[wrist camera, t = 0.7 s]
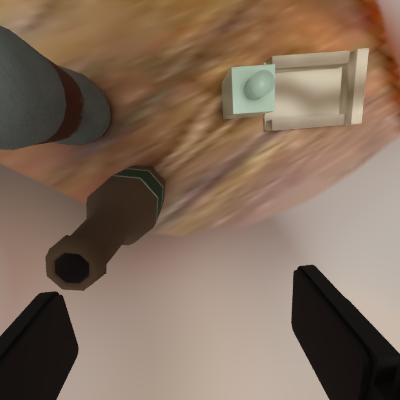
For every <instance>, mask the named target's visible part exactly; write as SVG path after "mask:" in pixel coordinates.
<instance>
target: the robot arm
mask: <svg viewBox="0 0 400 400" xmlns="http://www.w3.org/2000/svg"><path fill="white" fill-rule="evenodd" d="M291 322H292V329H293V331H294V333H295V335H296V337H297V339H298V341H299V343H300V345H301V347H302V349H303V350H304V352H305V354H306V356H307V358H308V360H309V362H310V364H311V365H312V368H313V369H314V371H315V373H316V375H317V377H318V379H319V381H320V382H321V385H322V386H323V388H324V390H325V392H326V394H327V396H328V398H329V399H330V400H400V354H399V353H398V352H397V350H395V348H394V347H393V346H392V345H391V344H390V343H389V342H388V341H387V340H386V339H385V338H384V337H383V336H382V335H381V334H380V333H379V332H378V331H377V329H376V328H375V327H374V326H373V325H372V324H371V323H370V322H369V321H368V320H367V319H366V318H365V317H364V316H363V315H362V314H361V313H360V312H359V311H358V309H356V307H355V306H354V305H353V304H352V303H351V302H350V301H349V300H348V299H346V298H345V297H344V296H343V295H342V294H341V293H340V292H339V291H338V290H337V289H336V288H335V287H334V286H333V284H332V283H331V282H330V281H329V280H328V279H327V278H326V277H325V276H324V275H323V274H322V273H321V272H320V271H319V270H318V269H317V267H315V266H314V265H306V266H299V267H298V269H297V270H295V271H294V276H293V298H292V321H291ZM77 355H78V344H77V340H76V337H75V334H74V330H73V327H72V324H71V321H70V317H69V314H68V311H67V308H66V304H65V301H64V298H63V296H62V295H59V293H58V292H45V293H40V294H38V295H37V296H36V297H35V298H34V299H33V301H32V302H31V303H30V304H29V305H28V306H27V307H26V308H25V309H24V311H23V312H22V313H21V314H20V315H19V316H18V317H17V318H16V319H15V321H14V322H13V323H12V324H11V325H10V326H9V327H8V328H7V329H6V330H5V332H4V333H3V334H2V335H1V336H0V400H56V399H57V397H58V395H59V393H60V391H61V389H62V387H63V385H64V382H65V380H66V378H67V376H68V374H69V372H70V370H71V368H72V366H73V364H74V362H75V360H76V358H77Z"/></svg>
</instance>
